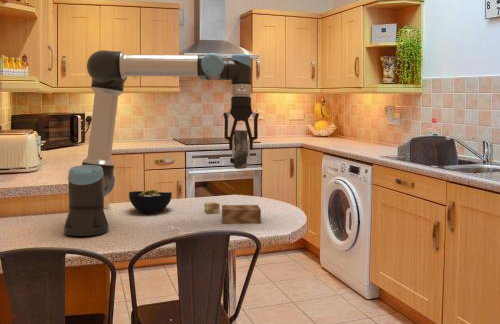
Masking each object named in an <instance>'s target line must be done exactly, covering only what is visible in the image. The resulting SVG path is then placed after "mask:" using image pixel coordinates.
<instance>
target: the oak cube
mask: <svg viewBox="0 0 500 324" xmlns="http://www.w3.org/2000/svg"><path fill="white" fill-rule="evenodd" d="M220 205H221V204H220V203H219V202H216V201H215V202H204V210H203V211H205V212H206V213H205V212H204V213H205V214H206V215H212V214H215V213H216V214H220V210H221V208H220ZM216 214H215V215H216Z"/></svg>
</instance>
